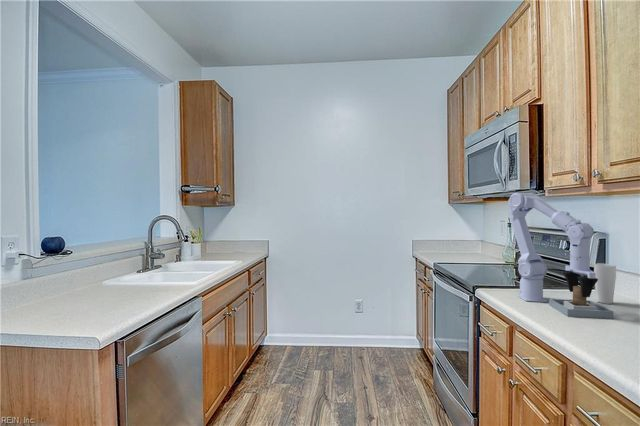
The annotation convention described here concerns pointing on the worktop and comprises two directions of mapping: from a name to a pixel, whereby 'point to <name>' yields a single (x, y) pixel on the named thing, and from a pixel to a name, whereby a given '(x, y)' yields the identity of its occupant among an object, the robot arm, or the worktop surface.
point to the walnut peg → (578, 297)
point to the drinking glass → (605, 282)
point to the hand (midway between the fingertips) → (579, 294)
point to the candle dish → (581, 309)
